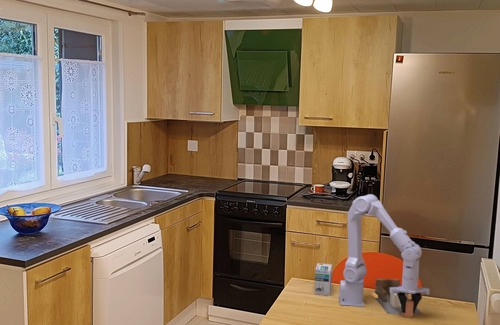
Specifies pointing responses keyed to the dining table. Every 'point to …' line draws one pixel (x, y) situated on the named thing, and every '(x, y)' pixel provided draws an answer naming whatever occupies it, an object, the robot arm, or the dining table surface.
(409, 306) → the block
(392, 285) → the panel
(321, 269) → the light bulb box
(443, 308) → the dining table surface
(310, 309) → the dining table surface
